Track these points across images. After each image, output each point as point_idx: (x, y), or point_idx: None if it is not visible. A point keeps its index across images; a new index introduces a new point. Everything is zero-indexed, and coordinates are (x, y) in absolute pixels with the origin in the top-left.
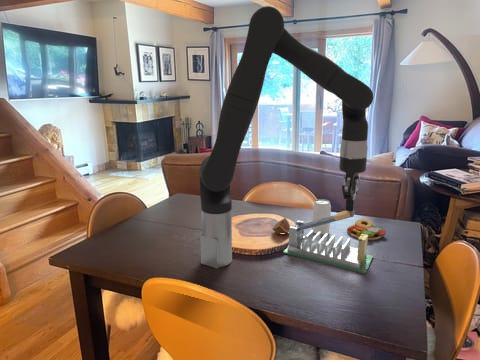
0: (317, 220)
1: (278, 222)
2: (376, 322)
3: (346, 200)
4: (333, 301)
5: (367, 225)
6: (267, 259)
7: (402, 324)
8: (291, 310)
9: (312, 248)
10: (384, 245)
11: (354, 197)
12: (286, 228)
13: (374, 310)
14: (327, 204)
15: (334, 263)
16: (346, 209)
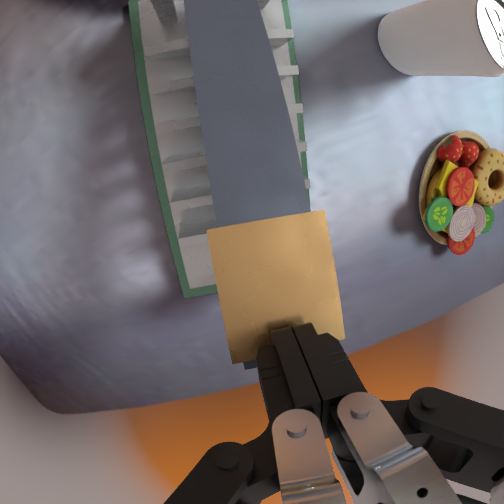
0: (261, 61)
1: None
2: (38, 365)
3: (292, 400)
4: (14, 285)
5: (487, 192)
6: (56, 2)
7: (72, 393)
8: None
9: (176, 92)
10: (406, 264)
11: (332, 453)
12: None
13: (62, 356)
14: (493, 61)
15: (168, 198)
16: (258, 350)
